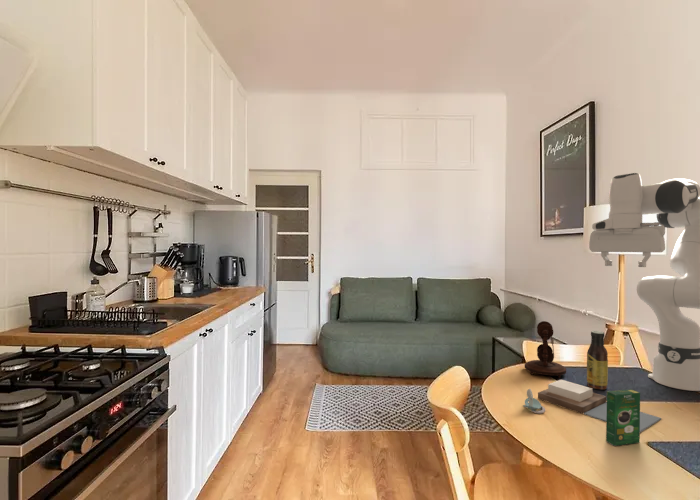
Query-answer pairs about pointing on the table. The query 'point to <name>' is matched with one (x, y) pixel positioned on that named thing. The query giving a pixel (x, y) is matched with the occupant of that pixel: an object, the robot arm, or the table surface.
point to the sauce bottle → (597, 362)
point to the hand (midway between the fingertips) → (624, 266)
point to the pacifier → (533, 403)
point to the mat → (601, 414)
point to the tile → (570, 390)
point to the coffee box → (623, 417)
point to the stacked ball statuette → (545, 354)
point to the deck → (572, 401)
